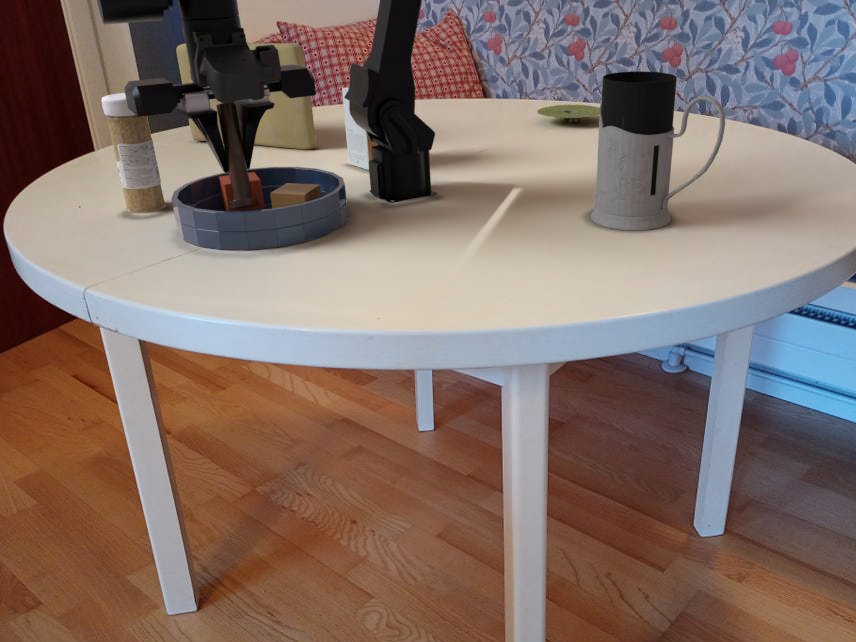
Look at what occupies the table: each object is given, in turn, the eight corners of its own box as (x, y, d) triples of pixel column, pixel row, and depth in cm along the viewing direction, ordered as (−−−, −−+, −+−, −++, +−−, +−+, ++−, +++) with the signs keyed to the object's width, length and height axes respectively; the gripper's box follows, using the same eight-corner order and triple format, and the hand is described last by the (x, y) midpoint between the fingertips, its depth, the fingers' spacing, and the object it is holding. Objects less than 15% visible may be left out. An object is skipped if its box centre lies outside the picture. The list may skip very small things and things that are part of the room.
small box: (369, 172, 112) (362, 92, 107) (347, 164, 116) (340, 87, 111) (417, 161, 116) (412, 84, 112) (394, 155, 120) (389, 80, 115)
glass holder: (618, 201, 97) (626, 68, 90) (730, 224, 88) (748, 79, 81) (575, 220, 91) (579, 78, 84) (691, 246, 82) (706, 91, 76)
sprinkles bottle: (133, 207, 99) (107, 92, 93) (171, 205, 100) (148, 90, 94) (122, 218, 95) (94, 99, 89) (162, 216, 96) (137, 97, 90)
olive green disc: (611, 117, 141) (612, 105, 140) (593, 130, 132) (594, 118, 131) (549, 114, 145) (549, 102, 144) (527, 127, 136) (527, 115, 135)
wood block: (291, 217, 92) (286, 182, 90) (324, 219, 91) (320, 184, 89) (275, 229, 89) (269, 192, 87) (309, 231, 88) (304, 194, 86)
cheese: (335, 142, 129) (325, 40, 122) (292, 156, 121) (278, 48, 114) (235, 130, 139) (220, 35, 132) (190, 141, 132) (171, 42, 125)
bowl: (314, 195, 102) (310, 159, 100) (374, 234, 88) (370, 193, 86) (164, 221, 94) (156, 182, 92) (203, 268, 80) (195, 224, 78)
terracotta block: (224, 210, 95) (218, 176, 94) (259, 205, 97) (254, 171, 95) (230, 219, 92) (224, 184, 90) (265, 214, 94) (260, 179, 92)
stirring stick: (262, 204, 92) (244, 103, 90) (254, 204, 89) (235, 100, 87) (234, 208, 92) (215, 108, 90) (226, 208, 89) (206, 104, 87)
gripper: (129, 30, 73) (165, 201, 80) (325, 15, 81) (343, 171, 88) (108, 22, 82) (143, 178, 89) (288, 9, 90) (306, 152, 97)
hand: (236, 170), depth 91 cm, fingers closed on stirring stick, 2 cm apart
